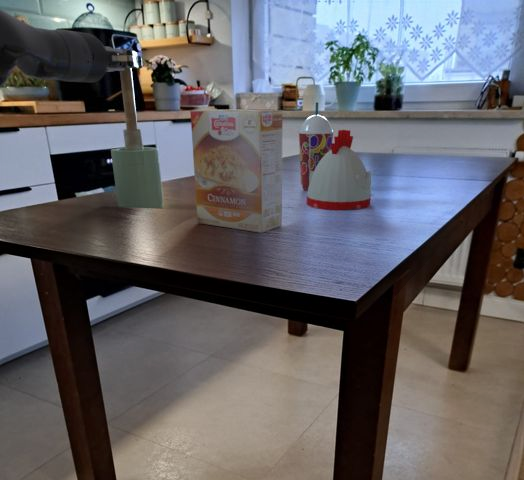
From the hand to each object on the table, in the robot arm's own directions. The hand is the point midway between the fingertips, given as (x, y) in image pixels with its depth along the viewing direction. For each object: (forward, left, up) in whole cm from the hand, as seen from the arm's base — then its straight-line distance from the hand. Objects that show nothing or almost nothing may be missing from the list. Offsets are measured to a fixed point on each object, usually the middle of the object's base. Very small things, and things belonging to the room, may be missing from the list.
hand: (134, 62), depth 101 cm
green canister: (-1, -3, -28) cm, 28 cm away
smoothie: (+32, +28, -28) cm, 51 cm away
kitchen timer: (+40, +10, -28) cm, 50 cm away
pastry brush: (-1, -3, -18) cm, 18 cm away
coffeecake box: (+24, -14, -28) cm, 40 cm away
